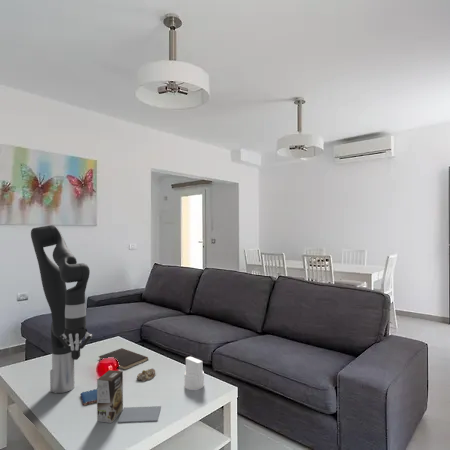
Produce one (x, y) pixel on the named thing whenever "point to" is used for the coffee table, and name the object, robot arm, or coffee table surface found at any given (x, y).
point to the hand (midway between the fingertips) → (76, 359)
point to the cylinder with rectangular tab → (194, 374)
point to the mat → (139, 414)
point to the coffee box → (109, 396)
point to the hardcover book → (125, 357)
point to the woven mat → (89, 397)
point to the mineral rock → (146, 375)
